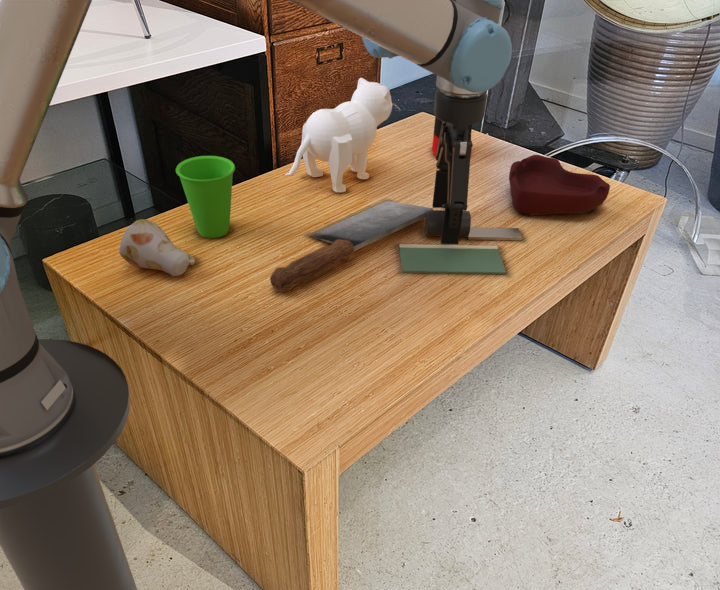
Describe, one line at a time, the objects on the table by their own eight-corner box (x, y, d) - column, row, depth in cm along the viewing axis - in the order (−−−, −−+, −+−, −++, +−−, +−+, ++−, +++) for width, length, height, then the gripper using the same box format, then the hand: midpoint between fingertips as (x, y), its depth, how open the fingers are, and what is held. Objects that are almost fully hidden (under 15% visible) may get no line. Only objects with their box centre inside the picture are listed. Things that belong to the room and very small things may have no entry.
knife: (426, 240, 108) (428, 217, 106) (423, 228, 112) (426, 205, 109) (522, 242, 109) (527, 219, 106) (517, 229, 112) (521, 207, 110)
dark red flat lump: (477, 197, 121) (481, 171, 118) (533, 175, 129) (538, 150, 126) (556, 236, 111) (562, 209, 108) (611, 209, 119) (619, 183, 116)
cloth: (402, 273, 101) (402, 270, 100) (398, 246, 107) (399, 243, 107) (505, 274, 101) (506, 271, 101) (496, 247, 107) (497, 245, 107)
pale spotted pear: (178, 290, 96) (132, 235, 90) (144, 293, 102) (100, 242, 97) (209, 257, 99) (167, 203, 94) (175, 262, 106) (134, 211, 101)
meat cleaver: (386, 200, 119) (387, 179, 117) (434, 222, 113) (436, 201, 111) (237, 270, 101) (234, 247, 98) (285, 301, 95) (283, 277, 92)
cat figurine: (304, 209, 116) (301, 113, 105) (270, 188, 122) (264, 95, 111) (406, 172, 129) (413, 84, 118) (371, 155, 135) (375, 69, 124)
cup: (204, 250, 104) (195, 185, 97) (175, 228, 109) (164, 165, 102) (251, 232, 109) (246, 169, 102) (221, 212, 114) (214, 150, 107)
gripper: (503, 121, 86) (478, 262, 101) (474, 65, 105) (457, 192, 119) (446, 119, 86) (429, 262, 100) (427, 64, 104) (415, 191, 118)
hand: (444, 224), depth 109 cm, fingers open, 11 cm apart
